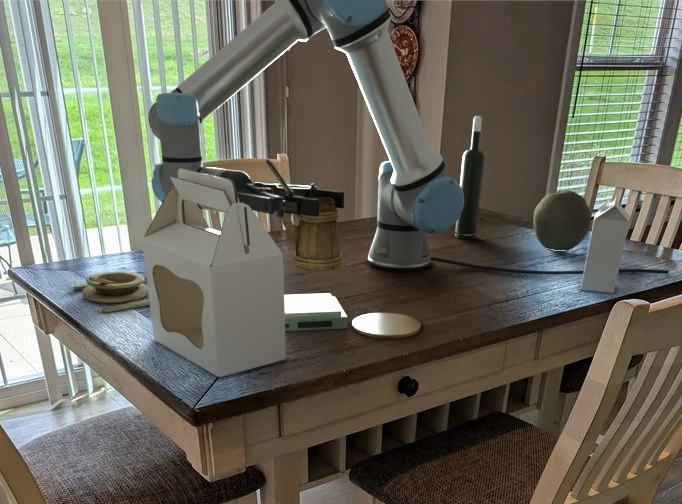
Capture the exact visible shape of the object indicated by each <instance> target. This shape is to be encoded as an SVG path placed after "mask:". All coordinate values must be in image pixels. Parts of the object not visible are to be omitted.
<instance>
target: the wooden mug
mask: <svg viewBox="0 0 682 504" xmlns="http://www.w3.org/2000/svg"><path fill="white" fill-rule="evenodd" d="M265 164H266V165H267V167H268V168H269V169H270V170H271V173H272V174H273V176H275V178H276V179H277V181H278V182H279V184H281V185H282V187H283V188H284V190H285V191H286V193H287V195H286V196H295V197H303V196H296V195H295V193H294V192H293V191H292V189H291V188H290V187H289V186H288V185H287V182H286V181H285V180H284V178H283V177H282V175H281V174H280V172H279V171H278V170H277V168H276V166H275V165H274V162H272V161H271V160H269V159H268V158H266V160H265ZM312 199H319V216H318V217H314V216H306V215H299V214H296V218H298V219H299V220H298V221H299V222H298V225H295V224H294V223H293V221H292V215H293V214H291V213H285V210H283V217H280V218H281V222H282V224H283V227H284V229H285V231H286V233H287V234H288V235H289V237H290V238H291V240H292V243H293V246H294V255H293V260H292V262H293V264H294V265H295V266H296V267H297V268H298V269H301V270H306V271H316V272H317V271H319V272H320V271H322V272H324V271H332V270H336V269H339V268H341V267H342V266H343V265H344V261H343V254H342V253H341V245H340V238H339V229H338V228H339V227H338V220H339V212H338V208H336V206H335V200H334V199H332V198H323V197H318V198H312ZM284 200H285V199H284Z"/></svg>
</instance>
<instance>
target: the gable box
mask: <svg viewBox="0 0 682 504" xmlns="http://www.w3.org/2000/svg"><path fill="white" fill-rule="evenodd" d="M170 178H171V180H172V182H173V184H174V187H172V189H170V190H169V191H168V193H167V194H166V196H165V198H164V200H163V202H161V204H160V206H159V207H158V210H157V211H156V213H155V215H154V217H153V219H152V220H151V223H150V225H149V227H148V228H147V230H146V232H145V234H144V236H143V237H142V238H141V245H142V253H143V261H144V268H145V276H146V286H148V299H149V302H150V305H149V308H150V318H151V325H152V333H153V334H152V335H153V339H154V341H156V342H157V343H159V344H161V345H162V346H164V347H166V348H168V349H169V350H171V351H173V352H174V353H176V354H177V355H179V356H181V357H183V358H185V359H187V360H188V361H190V362H192V363H193V364H195V365H197V366H199V367H200V368H201V369H203V370H206V371H207V372H209V373H210V374H212V375H213V376H216V377H217V378H219V379H220V378H224V377H227V376H230V375H235V374H239V373H242V372H246V371H249V370H252V369H257V368H260V367H264V366H267V365H271V364H275V363H278V362H282V361H285V360H286V359H287V354H286V353H287V352H286V331H285V306H284V295H285V268H284V265H285V264H284V253H283V252H282V251H281V250H280V248H279V246H278V245H277V244H276V242H275V241H274V239H273V238H272V236H271V235H270V233H269V232H268V230H267V229H266V227H265V226H264V225H263V223H262V221H261V220H260V218H259V217H258V216H257V214H256V213H255V211H253V210H252V209H251V208H250V207H249V206H248V205H247V204H244V203H238V197H237V189H236V185H235V183H234V181H233V180H229V179H225V178H221V177H217V176H213V175H209V174H205V173H201V172H197V171H193V170H189V169H185V168H179V170H178V178H177V177H173V176H170ZM197 203H198V204H202V205H205V206H208V207H211V208H215V209H218V210H221V211H225V212H226V213H225V212H224V214H225V215H224V217H223V222H222V225H221V229H220V230H217V229H214V228H210V226H209V224H208V223H207V220H206V219H205V217H204V215H203V213H202V209H199V207H198V205H197Z"/></svg>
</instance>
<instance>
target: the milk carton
mask: <svg viewBox="0 0 682 504" xmlns="http://www.w3.org/2000/svg"><path fill="white" fill-rule="evenodd" d="M617 199H618V194H615V198H614V200H613V201H612V202H610V203H609V204H608V202H607V201H604V202H603V203H602V204H601V203H600V205H599V206H597V208H596V209H597V212H595V214H594V219H593V223H592V228H591V233H590V238H589V242H588V247H587V253H586V258H585V264H584V269H583V270H584V274H582V279H581V285H580V290H581V291H591V292H598V293H609V294H614V293H615V291H616V290H615V289H616V285H617V281H618V276H619V273H620V272H619V269H620V266H621V262H622V257H623V254H624V248H625V243H626V239H627V234H628V231H629V225H630V218H631V217H630V215H629V213H628V212H627V211H626V210H625V209H624V208H623V207H622V205H621V204H620V203H619V202H618V201H617Z"/></svg>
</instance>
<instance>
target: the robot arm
mask: <svg viewBox="0 0 682 504" xmlns="http://www.w3.org/2000/svg"><path fill="white" fill-rule="evenodd" d="M391 20H392V15H391V12H390V9H389V6H388V4H387V0H274V3H273V4H272V5H271V6H269V7H268V8H267V9H266V10H265V11H263V12H262V13H261V14H260V15H259V16H258V17H256V18H255V19H254V20H253V21H252V22H250V23H249V25H247V26H246V27H245V28H244V29H242V30H241V31H240V32H239V33H238V34H236V35H235V36H234V37H233V38H232V39H231V40H230V41H229V42H227V43H226V44H225V45H224V46H223V47H221V48H220V49H219V50H218V51H217V52H216V53H214V54H213V55H212V56H211V57H210V58H208V60H207V61H205V62H204V63H203V64H202V65H201V66H199V67H198V68H197V69H196V70H195V71H194V72H193V73H191V74H190V75H189V76H188V77H187V78H185V80H183V81H182V82H181V83H180V84H178V85H177V87H176V88H175V89H173V90H171V91H170V92H162V93H159V94H158V95H157V96H156V98H155V102H153V104H152V105H151V106H150V108H149V111H148V114H147V115H148V116H147V117H148V124H149V128H150V129H151V132H152V134H153V135H154V136H155V138H157V139H158V140H159V142H160V150H161V163H158V164H157V166H155V168H154V170H153V171H152V179H151V188H152V191H153V194H154V196H155V197H156V199H157V200H158V201H159V202H160V203H162V202H163V200H164V198H165V196H166V194H167V193H168V191H169V190H170V189H172V187H174V184H173V182H172V180H171V178H170V176H173V177H177V178H178V170H179V168H185V169H189V170H193V171H197V172H201V173H205V174H209V175H213V176H217V177H221V178H225V179H229V180H233V181H234V183H235V185H236V189H237V197H238V203H244V204H247V205H248V206H249V207H250V208H251V209H252V210H253V212H258V213H264V214H268V215H273V214H275V213H276V217H277V218H281V217H283V210H285V213H291V214H292V215H297V214H299V215H306V216H314V217H318V216H319V199H312V198H318V197H323V198H332V199H334V200H335V206H336V209H344V208H345V191H340V190H331V189H323V188H318V186H316V185H315V183H310V185H301V184H287V185H288V186H289V187H290V188H291V189H292V191H293V192H294V193H295V195H296V196H303V197H295V196H286V195H287V193H286V191H285V190H284V188H283V187H282V185H281V184H280V183H278V182H272V181H270V182H268V183H265V182H263V181H254V183H253V181H252V180H251V178H250V176H249V174H248V173H246V172H245V171H243V170H235V169H226V168H219V167H210V166H204V165H203V164H204V163H203V151H202V139H201V125H200V124H202V123H203V122H204V121H205V120H206V119H207V118H209V117H210V116H211V115H212V114H213V113H215V111H217V110H218V109H219V108H221V107H222V106H223V105H224V104H225V103H226V102H227V101H228V100H230V99H231V98H232V97H233V96H235V94H237V93H238V92H239V91H240V90H241V89H243V88H244V87H245V86H247V85H248V84H249V83H250V82H251V81H252V80H253V79H255V78H256V77H257V76H258V75H260V73H261V72H263V71H264V70H265V69H266V68H267V67H269V66H270V65H272V64H273V63H274V62H275V61H276V60H277V59H278V58H280V57H281V56H282V55H283V54H284V53H286V52H287V50H289V49H290V48H291V47H292V46H293V45H295V44H297V42H298V41H299V42H305V43H306V42H307V41H308V40H310V39H311V38H312V37H313V36H314V35H316V34H317V33H319V32H321V31H323V30H325V29H327V33H328V34H329V36H330V39H331V41H332V44H333V46H334V49H336V50H338V51H341V52H343V53H345V54H346V56H347V58H348V61H349V64H350V66H351V69H352V71H353V73H354V76H355V78H356V80H357V83H358V85H359V88H360V90H361V93H362V95H363V97H364V100H365V102H366V105H367V107H368V110H369V112H370V115H371V117H372V119H373V122H374V125H375V127H376V129H377V132H378V134H379V136H380V139H381V142H382V144H383V147H384V149H385V151H386V154H387V156H388V159H389V160H388V161H387V160H386V161H383V162H382V163H381V164H380V166H379V173H378V176H377V177H378V178H377V179H378V190H377V191H378V193H377V219H376V222H377V223H376V225H377V226H376V231H375V234H374V237H373V239H372V243H371V244H370V245H371V246H370V248H369V251H368V257H367V263H368V264H369V265H370V266H372V267H373V268H377V269H379V270H385V271H394V272H395V271H396V272H413V271H420V270H425V269H427V268H429V267H430V266H431V265H432V261H433V262H440V263H444V264H450V265H455V266H461V267H467V268H472V269H480V270H487V271H494V272H502V273H503V272H504V273H513V274H526V275H549V276H550V275H552V276H553V275H583V274H584V271H583V270H531V269H530V270H529V269H517V268H506V267H498V266H497V267H496V266H488V265H482V264H475V263H468V262H463V261H457V260H452V259H446V258H442V257H441V258H440V257H435V256H432V254H431V253H432V252H431V248H430V245H429V240H428V236H427V234H431V235H439V234H443V233H445V232H446V231H448V230H449V229H451V228H452V227H454V226H455V225H456V222H457V220H458V219H459V217H460V214H461V211H462V210H463V206H464V194H463V190H462V188H461V186H460V183H458V181H457V180H456V179H454V178H453V177H451V176H450V175H449V174H450V173H449V171H448V169H447V166H446V163H445V161H444V158H443V155H442V154H440V153H437V152H434V151H433V149H432V147H431V145H430V142H429V139H428V136H427V134H426V131H425V128H424V125H423V123H422V120H421V118H420V114H419V112H418V109H417V107H416V104H415V102H414V99H413V96H412V93H411V90H410V88H409V85H408V82H407V80H406V77H405V74H404V71H403V69H402V66H401V63H400V61H399V58H398V55H397V52H396V50H395V47H394V45H393V42H392V39H391V36H390V34H389V30H388V29H389V25H390V23H391ZM284 199H285V200H284ZM197 205H198V207H199V209H200V210H204V211H212V214H213V215H217V214H218V212H220V213H224V214H226V212H225V211H221V210H218V209H215V208H211V207H208V206H205V205H202V204H198V203H197ZM618 273H643V274H644V273H645V274H661V275H662V274H664V275H668V274H670V270H669V269H651V268H650V269H649V268H619V272H618Z"/></svg>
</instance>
